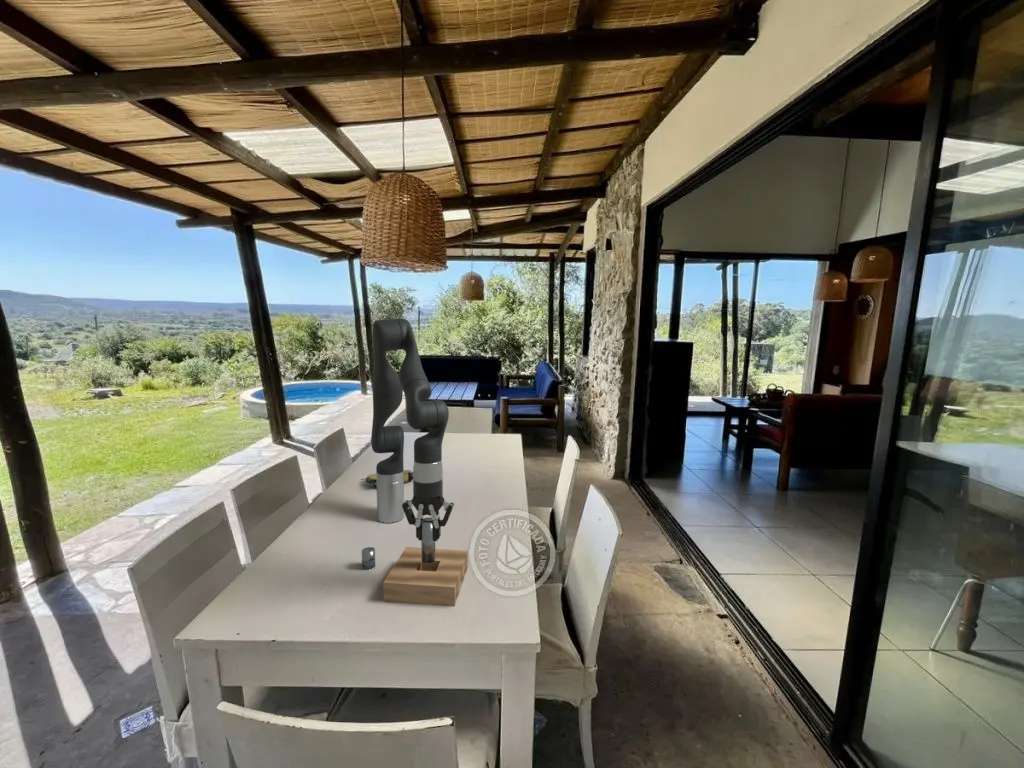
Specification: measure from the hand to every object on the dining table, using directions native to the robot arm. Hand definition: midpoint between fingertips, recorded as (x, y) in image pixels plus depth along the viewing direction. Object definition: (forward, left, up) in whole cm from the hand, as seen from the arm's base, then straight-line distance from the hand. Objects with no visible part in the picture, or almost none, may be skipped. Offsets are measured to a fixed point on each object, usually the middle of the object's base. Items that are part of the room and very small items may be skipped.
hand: (428, 539), depth 119 cm
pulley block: (-73, -33, -13) cm, 82 cm away
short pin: (-6, -19, -12) cm, 24 cm away
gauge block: (0, 0, -12) cm, 12 cm away
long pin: (0, 0, -6) cm, 6 cm away
